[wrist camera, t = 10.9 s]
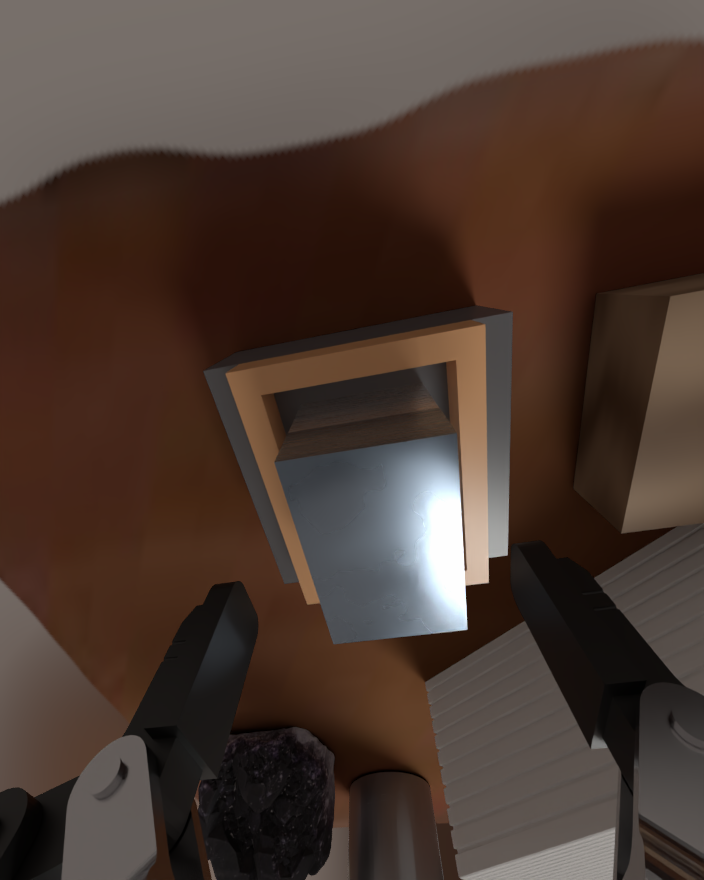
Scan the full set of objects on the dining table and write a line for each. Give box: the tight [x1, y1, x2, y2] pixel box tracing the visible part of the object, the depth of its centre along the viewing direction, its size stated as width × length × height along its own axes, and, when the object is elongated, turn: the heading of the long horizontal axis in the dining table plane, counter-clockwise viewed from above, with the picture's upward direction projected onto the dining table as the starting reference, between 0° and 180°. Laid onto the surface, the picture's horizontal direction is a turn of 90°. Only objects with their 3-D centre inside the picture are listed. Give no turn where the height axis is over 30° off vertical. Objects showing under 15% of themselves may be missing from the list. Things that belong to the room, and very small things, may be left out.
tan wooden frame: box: [203, 306, 513, 605], centre depth 16 cm, size 12×12×6 cm
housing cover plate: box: [274, 407, 468, 644], centre depth 11 cm, size 5×8×2 cm, turn 10°
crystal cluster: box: [198, 727, 335, 880], centre depth 31 cm, size 14×14×10 cm
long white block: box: [425, 523, 704, 880], centre depth 20 cm, size 32×11×11 cm, turn 140°
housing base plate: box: [288, 383, 439, 433], centre depth 14 cm, size 5×8×3 cm, turn 11°
